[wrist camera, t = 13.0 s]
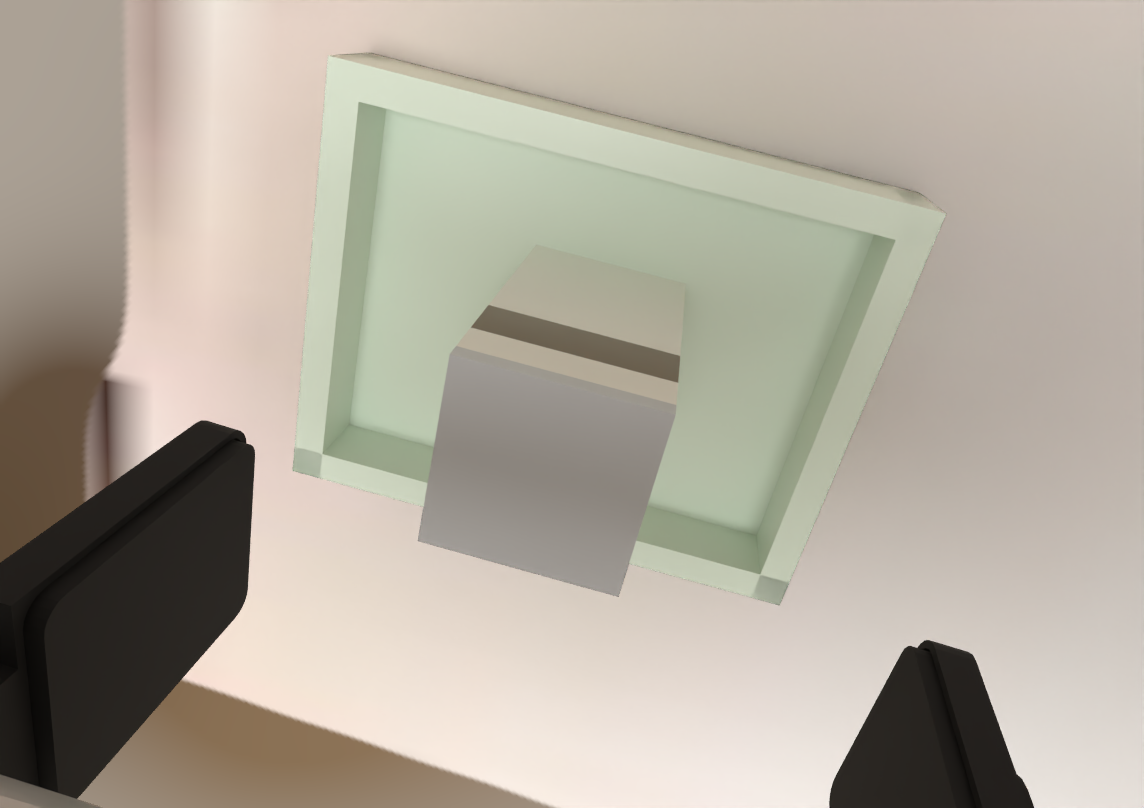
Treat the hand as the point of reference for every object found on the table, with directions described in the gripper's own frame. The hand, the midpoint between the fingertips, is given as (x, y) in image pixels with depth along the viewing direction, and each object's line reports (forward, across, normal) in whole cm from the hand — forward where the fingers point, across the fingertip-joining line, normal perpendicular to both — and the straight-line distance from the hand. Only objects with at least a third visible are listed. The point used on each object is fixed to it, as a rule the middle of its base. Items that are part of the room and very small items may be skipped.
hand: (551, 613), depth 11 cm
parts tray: (+12, +2, 0) cm, 12 cm away
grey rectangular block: (+12, +1, 0) cm, 12 cm away
